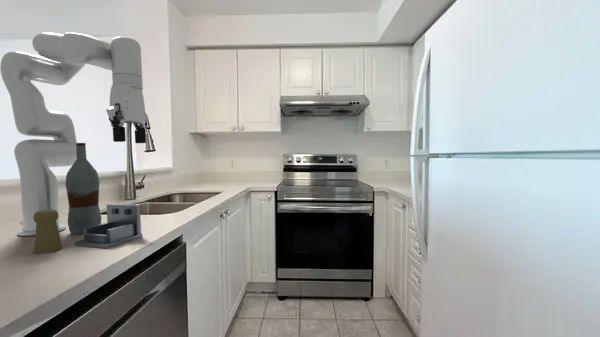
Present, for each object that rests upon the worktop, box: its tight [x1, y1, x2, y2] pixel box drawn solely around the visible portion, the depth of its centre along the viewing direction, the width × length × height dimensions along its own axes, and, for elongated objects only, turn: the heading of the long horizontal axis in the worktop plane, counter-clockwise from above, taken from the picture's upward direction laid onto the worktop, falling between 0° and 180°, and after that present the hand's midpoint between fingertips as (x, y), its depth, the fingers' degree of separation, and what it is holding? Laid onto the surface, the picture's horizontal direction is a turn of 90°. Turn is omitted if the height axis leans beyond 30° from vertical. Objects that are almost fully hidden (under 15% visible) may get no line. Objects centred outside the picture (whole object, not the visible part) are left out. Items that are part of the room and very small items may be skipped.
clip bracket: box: [74, 203, 143, 249], centre depth 89 cm, size 12×12×10 cm
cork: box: [32, 209, 63, 255], centre depth 81 cm, size 6×6×11 cm
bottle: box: [65, 142, 102, 236], centre depth 101 cm, size 9×9×30 cm
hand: (130, 142), depth 87 cm, fingers open, 9 cm apart
